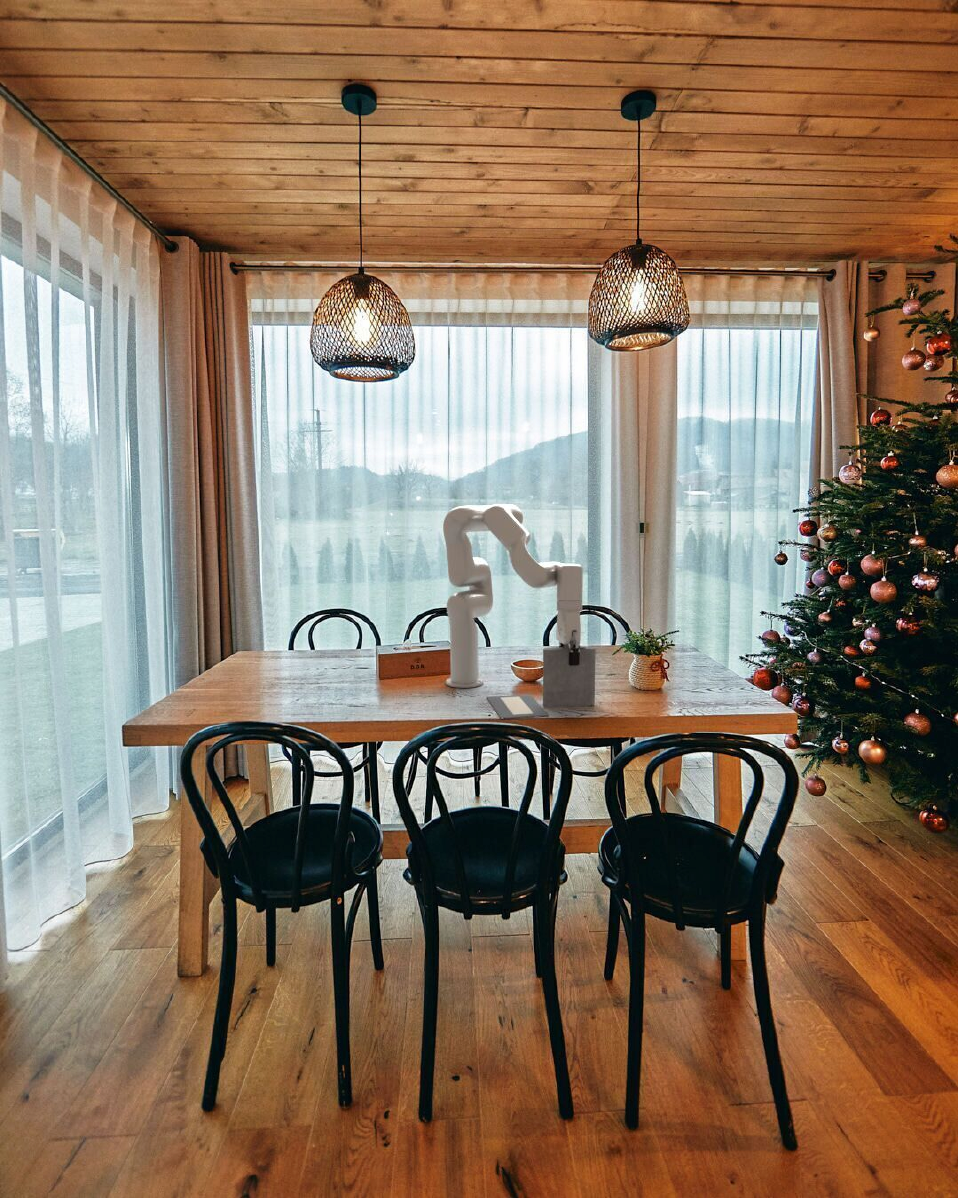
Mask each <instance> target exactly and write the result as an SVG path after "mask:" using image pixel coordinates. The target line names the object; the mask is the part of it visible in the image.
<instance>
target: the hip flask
mask: <svg viewBox="0 0 958 1198" xmlns="http://www.w3.org/2000/svg"><path fill="white" fill-rule="evenodd" d="M572 647H573V645H572ZM596 649H597V648H596V647H595V646H585V645H580V664H579V665H576V666H570V665H569V652H570V650H569V645H568V644H567V645H564V647H559V646H557V647H544V648H542V650H543V651H542V707H543V706H544V707H543V708H555V707H556V708H557V707H558V708H559V707H592V706H591V705H594V704H595V703H596V658H597V657H596V656H597V655H596V652H597V651H596ZM577 705H578V706H577ZM579 705H581V706H579ZM582 705H583V706H582ZM594 706H595V705H594Z"/></svg>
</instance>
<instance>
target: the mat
mask: <svg viewBox="0 0 958 1198" xmlns="http://www.w3.org/2000/svg"><path fill="white" fill-rule="evenodd" d="M486 699H487V701H488V702H489V704H490V705H491V706H492V709H493V710H494V711H495V712H496V714H497V715H498V717H499V718H500V719H501V718H506V719H505V720H508V719H522V718H523V719H524V718H525V719H527V718H536V717H535V716H544V717H549V716H550V715H549V713H548V712H547V711H546V710H545V709H544V707H543V706H541V704H539V702H538V701H537V700H536V699H535V698H534V697H533V696H532V695H531V694H515V695H514V694H513V695H496V696H486Z"/></svg>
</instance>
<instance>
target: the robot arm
mask: <svg viewBox="0 0 958 1198" xmlns="http://www.w3.org/2000/svg"><path fill="white" fill-rule="evenodd" d="M523 521H524V517H523V512H522V511H521V509H520V508H519V507H518V506H517V505H515V504H510V503H508V504H506V503H501V504H500V503H496V504H495V503H494V504H492V505H462V506H456V507H454V508H452V509H451V510H449V512H448V513H447V514H446V516H445V517H444V520H443V523H442V524H443V527H442V530H443V536H444V541H445V547H446V559H447V560H446V561H447V573H448V579H449V582H450V584H451V585H452V586H454V587H457V588H466V587H468V588H469V589H467V590H461V591H458V592H457V591H456V592H455V593H453V594H451V595H450V596H449V597H448V599H447V602H446V612H447V618H448V622H449V639H450V641H449V644H450V648H449V649H450V651H449V653H450V657H449V658H450V677H448V678H447V679H446V680H445V683H446V685H447V686H449V687H452V688H459V689H460V688H461V689H465V688H466V689H470V688H475V687H480V686H481V685H483V684H484V679H483V678H482V677H480V675H479V674H480V673H479V629H478V626H477V623H476V622H475V619H476V618H480V617H483V616H486V615H488V614H490V612H491V611H492V609H493V606H494V595H493V584H492V583H493V582H492V572H491V568H490V565H489V564H488V562H487V561H486V560H485V559H484V558H481V557H474V556H473V547H472V542H471V540H470V538H469V537H468V535H467V533H469V532H473V533H474V532H490V533H492V535H493V536H494V537H495V538H496V539H497V540H498V541H499V542H500V544H502V546H503V547H504V548H505V549H506V550H507V551H508V556H509V560H510V563H511V567H512V569H513V570H514V571H515V573H516V574H517V575H518V576H519V577H520V578H521V580H522V581H523V582H524V583H525V584H526V585H528V586H529V587H530V588H533V589H536V590H537V589H543V588H551V587H556V611H557V616H556V632H555V633H556V635H555V637H556V640H557V641H558V647H564V645H567V644H568V645H569V650H570V652H569V665H570V666H576V665H579V664H580V646H581V638H582V637H581V636H582V634H581V633H582V632H581V631H582V629H581V627H582V626H581V623H582V622H581V612H582V611H583V579H584V578H583V577H584V573H583V571H584V570H583V566H582V565H581V564H579V563H562V562H558V561H546V562H538V561H537V560H536V559H535V558H534V557H533V556H532V555H531V554H530V552H529V550H528V549H527V545H528V544H529V542H530V540H531V534H530V532H529V531H528V530H527V529H526V528H525V527H524V526H523V525H522V524H523ZM572 645H573V647H572Z"/></svg>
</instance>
